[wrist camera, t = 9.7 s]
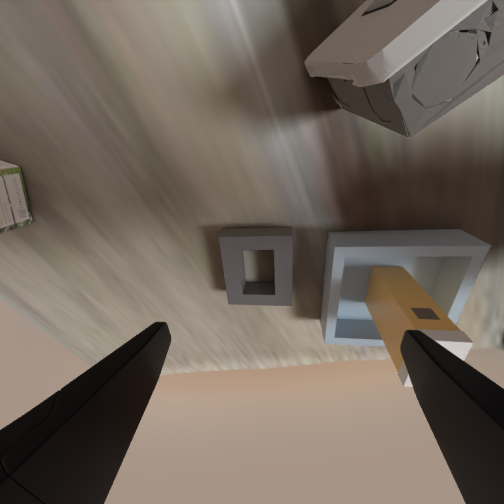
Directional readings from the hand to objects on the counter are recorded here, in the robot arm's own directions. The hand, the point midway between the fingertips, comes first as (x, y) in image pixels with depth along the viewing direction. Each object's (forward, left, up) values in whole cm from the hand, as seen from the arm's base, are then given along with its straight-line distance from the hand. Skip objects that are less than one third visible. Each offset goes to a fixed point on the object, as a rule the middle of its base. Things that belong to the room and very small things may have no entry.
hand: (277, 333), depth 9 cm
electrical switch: (-7, -11, -12) cm, 18 cm away
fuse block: (+2, +4, -12) cm, 13 cm away
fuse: (-9, +6, -12) cm, 16 cm away
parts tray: (-9, +6, -12) cm, 16 cm away
